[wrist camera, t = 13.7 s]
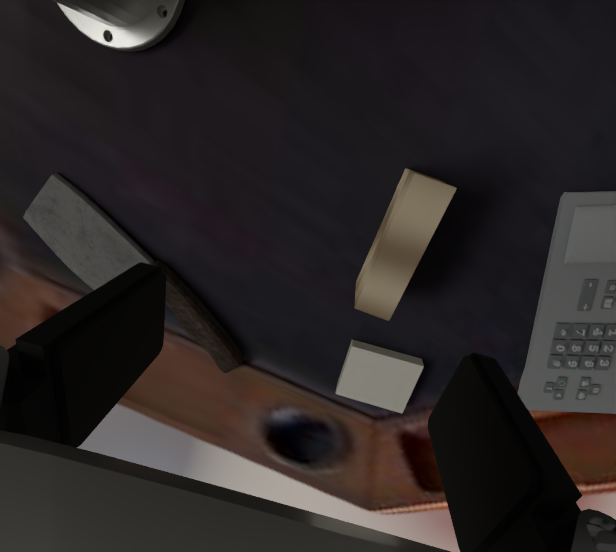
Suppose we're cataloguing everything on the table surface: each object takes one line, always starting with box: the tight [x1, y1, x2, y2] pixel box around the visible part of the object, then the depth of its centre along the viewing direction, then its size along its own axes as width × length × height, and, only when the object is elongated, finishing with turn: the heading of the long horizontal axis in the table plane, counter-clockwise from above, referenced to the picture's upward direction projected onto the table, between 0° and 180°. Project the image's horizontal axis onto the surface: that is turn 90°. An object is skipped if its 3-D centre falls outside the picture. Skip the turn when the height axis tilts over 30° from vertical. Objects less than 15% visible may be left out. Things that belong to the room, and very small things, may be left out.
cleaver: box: [23, 173, 243, 373], centre depth 38 cm, size 30×10×2 cm, turn 46°
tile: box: [336, 340, 424, 413], centre depth 37 cm, size 2×8×7 cm
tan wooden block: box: [355, 168, 457, 321], centre depth 28 cm, size 12×3×6 cm, turn 162°
